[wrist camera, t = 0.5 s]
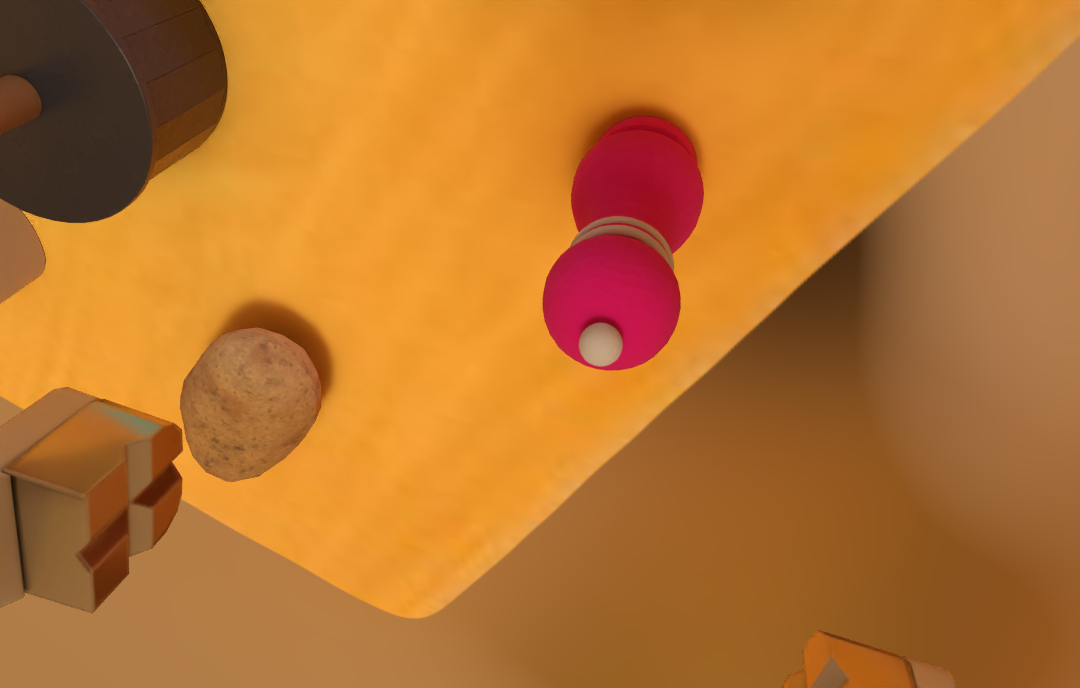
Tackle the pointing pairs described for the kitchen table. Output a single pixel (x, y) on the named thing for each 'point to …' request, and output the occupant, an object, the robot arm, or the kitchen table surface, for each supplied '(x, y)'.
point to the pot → (174, 69)
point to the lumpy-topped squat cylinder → (17, 251)
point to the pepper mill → (625, 246)
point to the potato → (249, 403)
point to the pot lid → (71, 113)
